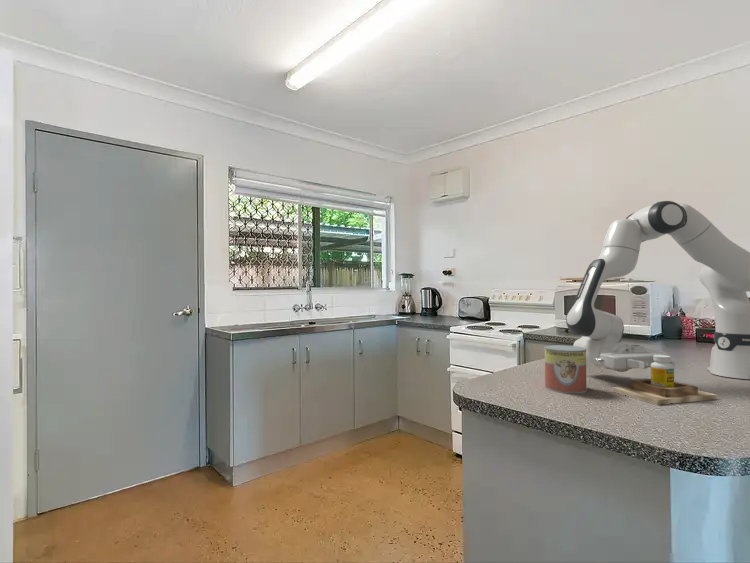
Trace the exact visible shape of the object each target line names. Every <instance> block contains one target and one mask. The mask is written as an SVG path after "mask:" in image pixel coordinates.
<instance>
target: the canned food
mask: <svg viewBox="0 0 750 563" xmlns="http://www.w3.org/2000/svg"><path fill="white" fill-rule="evenodd" d="M543 348H544V389H546V390H548V391H552V392H555V393H560V394H561V393H563V394H573V393H575V394H584V393H586V392H587V391H588V389H587V364H586V348H583V347H578V346H573V345H568V344H567V345H566V344H565V345H564V344H563V345H562V344H551V345H545V346H544V347H543Z"/></svg>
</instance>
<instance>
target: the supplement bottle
mask: <svg viewBox="0 0 750 563" xmlns="http://www.w3.org/2000/svg"><path fill="white" fill-rule="evenodd" d="M653 360H654V361H655V362H653V363H652V364H651V367H650V379H651V385H654V386H658V387H662V388H671V387H674V382H675V365H674V366H673V365H672V364H670V362H671V360H672V357H671V355H669V356H667V355H653Z"/></svg>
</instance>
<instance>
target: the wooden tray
mask: <svg viewBox="0 0 750 563" xmlns="http://www.w3.org/2000/svg"><path fill="white" fill-rule="evenodd" d="M628 382H629V385H628V386H627V385H625V386H616V387H614V386H613V387H611V388H612V391H613V392H612V393H615V392H616V393H615V394H618V393H619V395H621V394H623V395H622V396H625V395H626V396H625V397H628V396H629V398H631V397H633V398H632V399H635V398H636V399H635V400H638V399H639V401H642V402H645V401H646V402H645V403H648V402H649V404H652V403H653V404H652V405H655V404H656V406H661V404H663V405H671V404H670V403H673V404H682V402H683V403H689V402H691V403H692V402H701V401H711V400H717V399H718V398H717V394H716V393H712V392H707V391H702V390H699V386H695V385H692V384H687V383H683V382H678V381H674V387H671V388H662V387H658V386H654V385H651V378H647V379H646V378H645V379H632V380H631V379H630V380H629V381H628Z"/></svg>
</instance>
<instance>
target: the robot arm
mask: <svg viewBox="0 0 750 563" xmlns="http://www.w3.org/2000/svg"><path fill="white" fill-rule="evenodd" d="M665 235H669V236H670V237H671V238H672V239H673V240H674V241H675V242H676V243H677V244H678V245H679V246H680V247H681V248H682V249H683V250H684V251H685V252H686V253H687V254H688V255H689V256H690V258H692V259H693V260H694V261H696V262H698V263H699V264H702V265H704V266H702V267H701V269H700V271H699V275H698V278H699V281H700V284H702V285H703V286H704V287H705V288H706V289H707V292H708V294H709V295H710V299H711V301H712V305H713V308H714V321H715V322H714V323H715V324H714V326H715V328H714V330H715V331H714V332H713V342H714V345H713V346H712V348H711V351H710V352H711V354H710V355H711V356H710V362H709V363H710V364H709V366H707V371H708V372H709V373H710V374H712V375H715V376H718V377H719V376H721V377H725V378H726V377H727V378H733V379H741V380H742V379H743V380H750V298H749V296H748V294H747V292H750V251H748V250H747V249H745V248H743V247H741V245H738V244H737V243H735V242H733V241H732V240H730V239H729V238H728V237H727V236H725V235H724V233H723V232H722V231H720V230H719V229H718V227H716V226H715V225H714V224H713V223H712V222H711V221H710V220H709V219H708V217H706V216H705V215H704V214H702V213H701V212H700V211H699V210H697V209H696V208H694V207H693V206H691V205H689V204H686V203H680V204H679V203H677V202H675V201H672V200H663V201H657V202H656V203H654V204H650V205H647V206H645V207H642V208H641V209H639V210H637V211H635V212H632V213H631V214H629V215H628V216H626V218H620V219H616V220H613V222H611V223H610V224H609V227H608V228H607V231H606V233H605V237H604V239H603V242H602V246H601V250H600V253H599V255H598V257H597V258H596V259H594V260H592V261H591V262H590V263H589V265H588V267H587V269H586V271H585V273H584V276H583V278H582V279H581V280H582V281H581V283H580V286H579V288H578V291H577V293H576V296H575V298H574V301H573V303H572V305H571V306H570V308H569V310H568V312H567V313H566V317H565V323H566V326H567V328H568V331H569V332H570V333H571V334H573V335H575V336H580V338H578V339H576V340H575V341H574V343H573V345H572V346H578V347H583V348H586V365H590V366H593V367H598V368H600V367H602V368H604V369H607V370H611V371H614V372H615V371H616V372H620V373H625V372H627V371H629V370H632V369H644V370H645V369H648V368H651V364H652V363H653V362H655V361H654V360H653V355H667V356H670V354H669V353H667V352H665V351H661V350H660V351H659V350H656V349H651V348H645V347H644V345H638V344H629V343H625V342H621V341H622V339H623V335H624V332H625V331H624V330H625V325H624V323H623V320H622V318H621V317H620V316H618V315H616V314H613V313H610V312H607V311H603V310H601V309H597V308H595V302H596V299H597V297H598V294H599V291H600V288H601V286H602V284H603V283H604V281H606V280H607V279H614V278H621V277H625V276H627V275H629V274H630V273H632V272H633V271H634V270H635V268H636V266H637V264H638V260H639V255H640V250H641V245H642V243H643V242H646V241H652V240H655V239H658V238H661V237H663V236H665ZM670 364H672V365H673V366H674V367H675V361H674V359H671V362H670Z"/></svg>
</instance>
